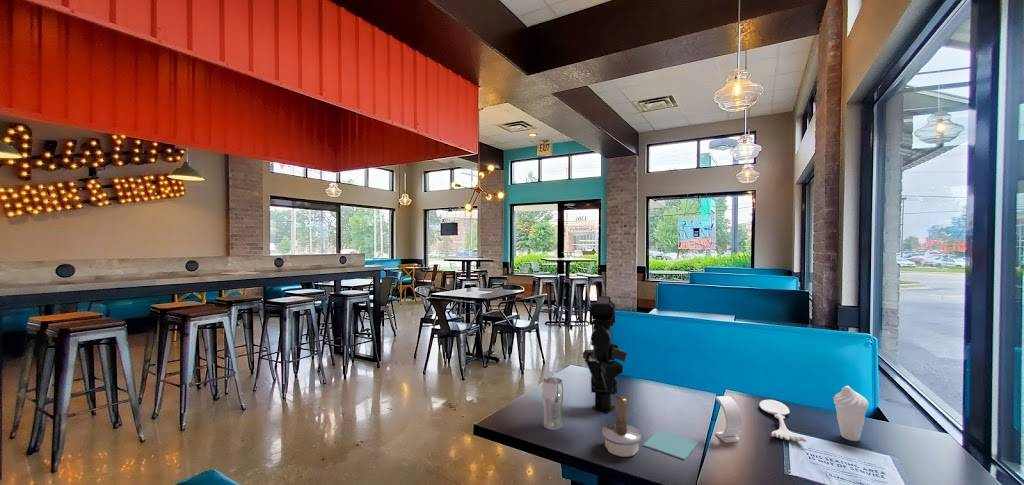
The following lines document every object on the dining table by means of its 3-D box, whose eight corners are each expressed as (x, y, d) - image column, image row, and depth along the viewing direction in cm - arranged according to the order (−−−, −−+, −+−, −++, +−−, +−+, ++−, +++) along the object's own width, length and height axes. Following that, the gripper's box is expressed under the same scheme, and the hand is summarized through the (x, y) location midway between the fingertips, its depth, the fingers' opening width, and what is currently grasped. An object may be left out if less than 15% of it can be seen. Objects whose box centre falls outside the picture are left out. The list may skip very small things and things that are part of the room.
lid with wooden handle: (613, 423, 127) (613, 388, 127) (647, 434, 120) (647, 397, 120) (595, 436, 119) (595, 399, 119) (630, 449, 112) (630, 409, 111)
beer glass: (562, 431, 130) (562, 385, 130) (540, 429, 132) (540, 383, 132) (564, 421, 137) (563, 377, 137) (543, 420, 139) (543, 376, 138)
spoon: (771, 444, 122) (771, 433, 122) (757, 404, 151) (757, 395, 151) (807, 450, 118) (807, 439, 118) (786, 408, 147) (786, 399, 147)
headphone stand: (729, 433, 128) (729, 395, 128) (742, 443, 122) (742, 403, 122) (715, 434, 128) (715, 396, 128) (727, 444, 122) (727, 404, 122)
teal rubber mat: (659, 431, 130) (659, 430, 130) (698, 443, 122) (698, 442, 122) (643, 445, 121) (643, 444, 121) (684, 460, 113) (684, 458, 113)
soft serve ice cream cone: (860, 433, 128) (860, 382, 128) (874, 446, 120) (874, 392, 120) (828, 429, 130) (828, 380, 130) (839, 442, 123) (840, 389, 122)
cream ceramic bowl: (614, 438, 126) (614, 425, 125) (642, 448, 120) (642, 434, 120) (600, 450, 119) (600, 436, 119) (628, 460, 113) (628, 446, 113)
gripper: (638, 345, 129) (638, 394, 130) (610, 332, 148) (611, 375, 148) (606, 348, 127) (606, 398, 127) (582, 334, 145) (582, 378, 145)
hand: (602, 386), depth 137 cm, fingers open, 9 cm apart
